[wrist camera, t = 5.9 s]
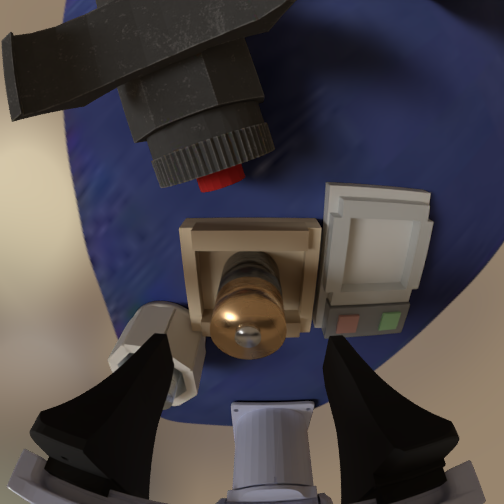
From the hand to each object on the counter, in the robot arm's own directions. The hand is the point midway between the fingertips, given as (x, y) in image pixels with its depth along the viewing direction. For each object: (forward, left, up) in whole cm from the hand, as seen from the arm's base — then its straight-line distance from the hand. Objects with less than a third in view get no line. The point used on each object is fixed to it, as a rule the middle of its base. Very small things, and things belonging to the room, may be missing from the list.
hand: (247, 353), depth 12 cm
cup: (-5, +7, -8) cm, 11 cm away
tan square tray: (0, 0, -8) cm, 8 cm away
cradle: (+2, -8, -8) cm, 11 cm away
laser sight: (+17, +5, -8) cm, 20 cm away
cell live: (0, 0, -7) cm, 7 cm away
